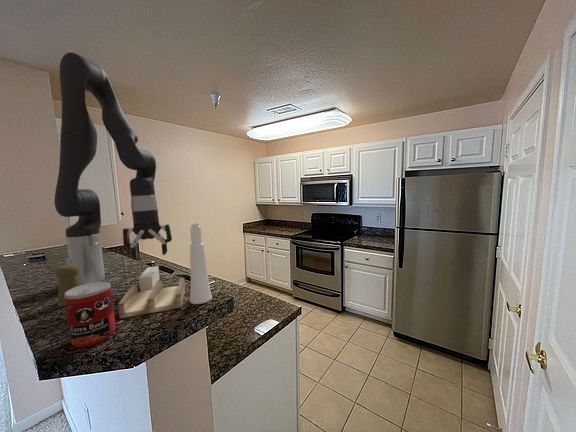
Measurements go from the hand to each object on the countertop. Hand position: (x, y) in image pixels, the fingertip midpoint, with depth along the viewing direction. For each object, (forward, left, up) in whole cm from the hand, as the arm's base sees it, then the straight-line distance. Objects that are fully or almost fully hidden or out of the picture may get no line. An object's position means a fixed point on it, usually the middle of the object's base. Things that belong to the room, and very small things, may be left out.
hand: (150, 256), depth 84 cm
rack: (+4, -18, -9) cm, 20 cm away
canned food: (-6, -32, -10) cm, 34 cm away
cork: (-20, -7, -10) cm, 23 cm away
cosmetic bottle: (+16, -22, -10) cm, 29 cm away
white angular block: (0, -3, -10) cm, 10 cm away
